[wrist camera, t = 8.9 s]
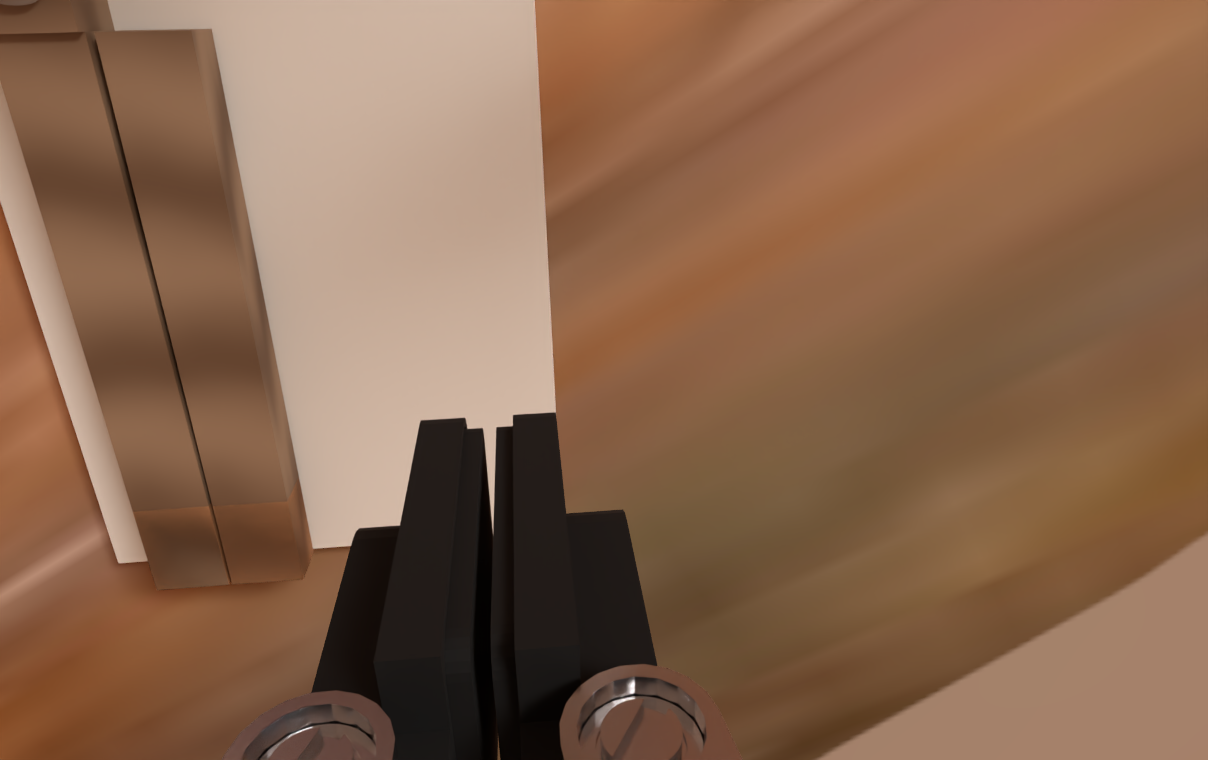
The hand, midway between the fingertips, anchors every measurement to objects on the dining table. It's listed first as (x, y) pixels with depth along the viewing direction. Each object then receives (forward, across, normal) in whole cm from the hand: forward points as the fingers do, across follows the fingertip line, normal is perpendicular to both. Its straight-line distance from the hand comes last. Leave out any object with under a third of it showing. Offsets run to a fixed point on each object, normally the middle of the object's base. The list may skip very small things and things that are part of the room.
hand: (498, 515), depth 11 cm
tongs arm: (+23, +11, +7) cm, 26 cm away
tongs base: (+23, +15, +4) cm, 28 cm away
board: (+24, +9, +4) cm, 26 cm away
